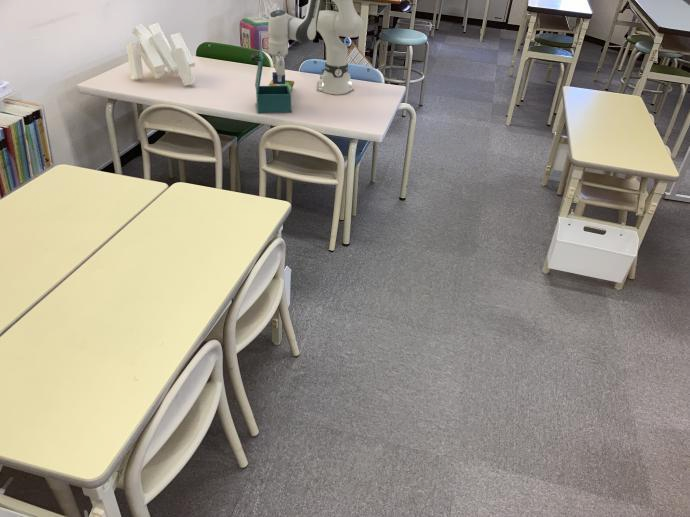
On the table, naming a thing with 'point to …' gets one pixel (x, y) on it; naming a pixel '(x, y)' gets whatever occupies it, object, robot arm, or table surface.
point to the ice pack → (277, 80)
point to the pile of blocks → (159, 54)
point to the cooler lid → (258, 69)
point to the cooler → (273, 99)
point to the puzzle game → (287, 83)
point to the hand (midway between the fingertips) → (278, 79)
